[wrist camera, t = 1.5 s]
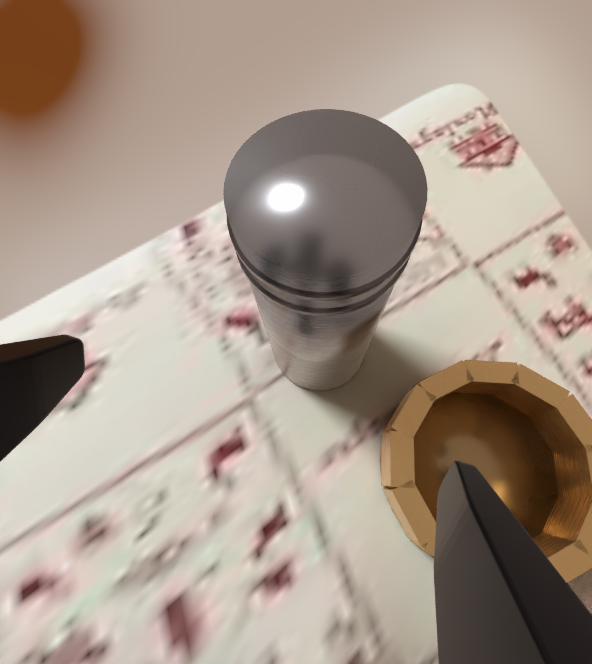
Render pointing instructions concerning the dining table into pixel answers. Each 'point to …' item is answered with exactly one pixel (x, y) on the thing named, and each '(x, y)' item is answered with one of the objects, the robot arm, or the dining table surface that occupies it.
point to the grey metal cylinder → (323, 234)
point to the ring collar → (495, 454)
